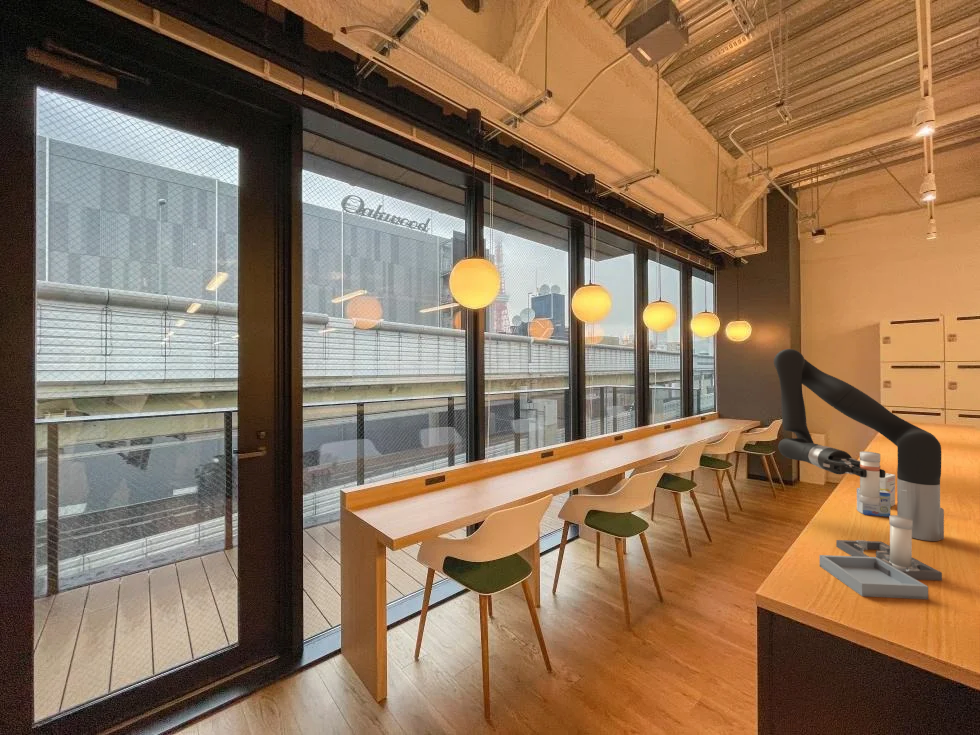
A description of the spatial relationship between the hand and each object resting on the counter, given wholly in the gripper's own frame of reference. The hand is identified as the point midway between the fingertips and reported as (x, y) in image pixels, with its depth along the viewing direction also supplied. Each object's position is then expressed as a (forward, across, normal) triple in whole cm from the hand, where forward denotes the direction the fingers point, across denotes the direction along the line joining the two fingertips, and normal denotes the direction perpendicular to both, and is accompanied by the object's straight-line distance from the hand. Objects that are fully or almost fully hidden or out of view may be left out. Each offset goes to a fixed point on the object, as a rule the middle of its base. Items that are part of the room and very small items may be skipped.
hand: (874, 474), depth 111 cm
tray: (+12, -10, +24) cm, 29 cm away
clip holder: (+1, +1, +24) cm, 24 cm away
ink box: (-46, +38, +24) cm, 64 cm away
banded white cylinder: (-2, 0, +8) cm, 9 cm away
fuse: (+6, +2, +24) cm, 25 cm away
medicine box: (-36, +27, +24) cm, 51 cm away
